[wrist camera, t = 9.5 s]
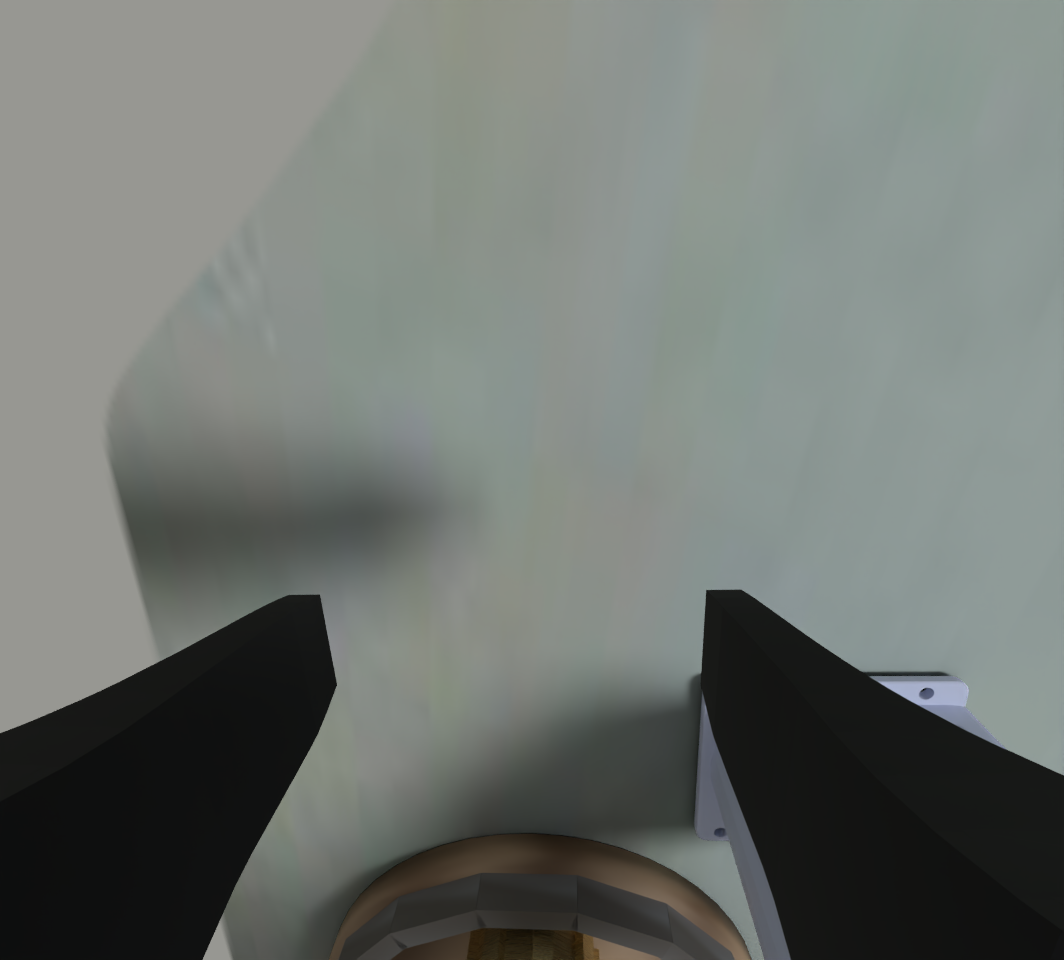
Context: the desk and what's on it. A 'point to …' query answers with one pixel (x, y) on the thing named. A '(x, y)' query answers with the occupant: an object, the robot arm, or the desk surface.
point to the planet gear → (530, 945)
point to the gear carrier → (535, 902)
